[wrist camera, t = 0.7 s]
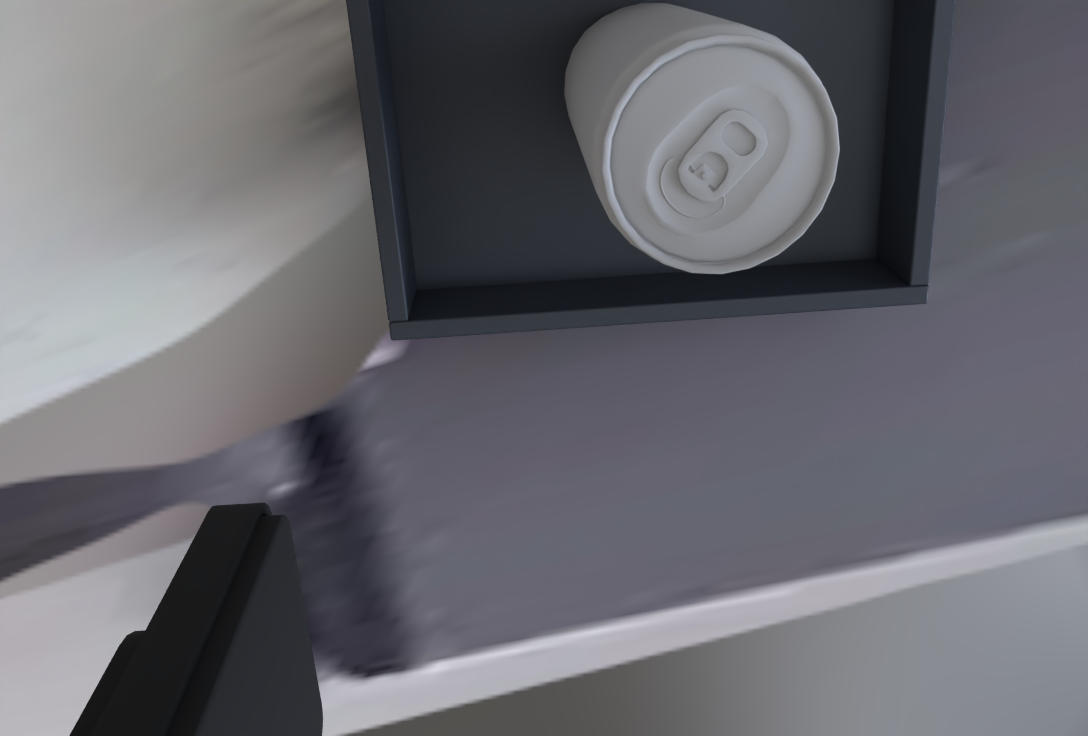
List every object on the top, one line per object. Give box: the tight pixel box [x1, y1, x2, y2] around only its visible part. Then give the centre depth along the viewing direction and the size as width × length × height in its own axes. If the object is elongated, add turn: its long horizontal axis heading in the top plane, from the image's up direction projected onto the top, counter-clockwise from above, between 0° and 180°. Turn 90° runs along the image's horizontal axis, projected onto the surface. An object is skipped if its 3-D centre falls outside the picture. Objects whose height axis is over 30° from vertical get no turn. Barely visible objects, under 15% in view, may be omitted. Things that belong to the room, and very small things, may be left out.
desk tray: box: [346, 0, 956, 340], centre depth 28 cm, size 13×16×3 cm
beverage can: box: [564, 3, 840, 274], centre depth 24 cm, size 5×5×12 cm
